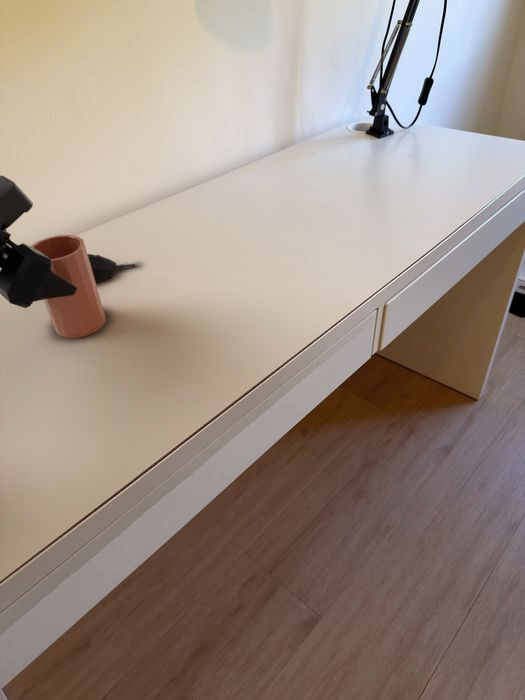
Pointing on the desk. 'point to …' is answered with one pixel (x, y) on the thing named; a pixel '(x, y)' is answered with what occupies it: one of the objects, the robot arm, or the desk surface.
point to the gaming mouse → (103, 267)
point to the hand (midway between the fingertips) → (58, 278)
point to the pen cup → (74, 266)
